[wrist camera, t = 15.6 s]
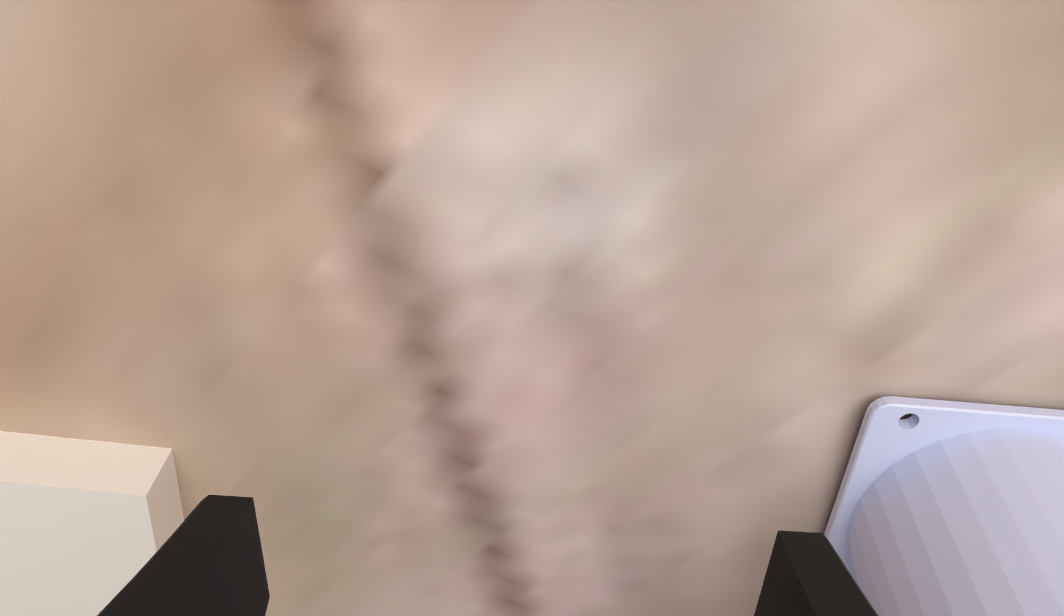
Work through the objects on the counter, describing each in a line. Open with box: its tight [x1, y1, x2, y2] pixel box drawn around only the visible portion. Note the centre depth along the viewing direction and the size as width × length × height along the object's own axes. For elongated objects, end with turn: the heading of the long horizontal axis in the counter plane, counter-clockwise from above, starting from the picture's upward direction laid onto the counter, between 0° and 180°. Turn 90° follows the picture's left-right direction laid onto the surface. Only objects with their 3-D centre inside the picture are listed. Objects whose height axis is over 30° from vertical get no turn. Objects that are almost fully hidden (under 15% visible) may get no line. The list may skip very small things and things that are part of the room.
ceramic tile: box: [0, 431, 184, 616], centre depth 28 cm, size 2×8×8 cm
